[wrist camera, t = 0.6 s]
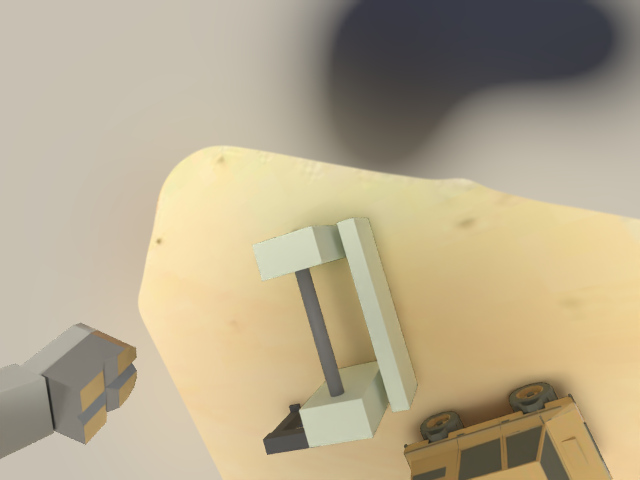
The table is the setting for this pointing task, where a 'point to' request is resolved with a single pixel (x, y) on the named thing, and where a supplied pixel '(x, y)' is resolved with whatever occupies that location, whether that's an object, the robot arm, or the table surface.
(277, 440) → the dark grey flanged post
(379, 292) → the lever switch frame
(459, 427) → the toy car
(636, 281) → the table surface
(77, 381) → the robot arm
